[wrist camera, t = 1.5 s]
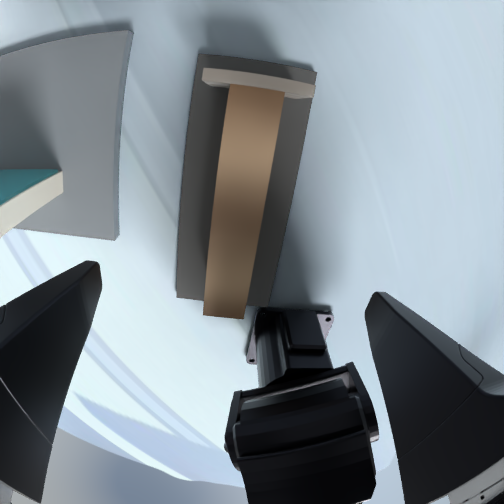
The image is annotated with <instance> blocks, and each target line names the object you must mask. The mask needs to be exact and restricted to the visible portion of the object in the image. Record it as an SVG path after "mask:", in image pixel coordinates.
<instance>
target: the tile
mask: <svg viewBox="0 0 504 504" xmlns="http://www.w3.org/2000/svg"><path fill="white" fill-rule="evenodd" d="M61 193H63V173H62V171H58V169H5V170H0V238H1V237H2V236H3V235H5V234H6V233H7V232H8V231H10V230H11V229H12V228H14V227H15V226H16V225H17V224H19V223H20V222H21V221H23V220H24V219H25V218H27V217H28V216H30V215H31V214H32V213H34V212H35V211H36V210H38V209H39V208H41V207H42V206H44V205H45V204H46V203H48V202H49V201H51V200H52V199H54V198H55V197H57V196H58V195H60V194H61Z"/></svg>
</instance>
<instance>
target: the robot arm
mask: <svg viewBox="0 0 504 504" xmlns="http://www.w3.org/2000/svg"><path fill="white" fill-rule="evenodd" d="M101 291H102V279H101V272H100V265H99V263H98V262H95V261H88V260H87V261H84V262H82V263H80V264H78V265H77V266H75V267H73V268H71V269H69V270H67V271H65V272H63V273H61V274H59V275H57V276H55V277H53V278H52V279H50V280H48V281H46V282H44V283H42V284H40V285H39V286H37V287H35V288H33V289H31V290H30V291H28V292H26V293H24V294H22V295H21V296H19V297H17V298H15V299H14V300H12V301H10V302H8V303H7V304H6V305H3V306H1V307H0V504H12V503H11V498H12V493H13V491H15V492H17V493H19V494H21V495H23V496H25V497H27V498H29V499H31V500H33V501H35V502H37V503H41V500H42V495H43V489H44V483H45V478H46V473H47V468H48V463H49V458H50V454H51V450H52V444H53V440H54V437H55V433H56V429H57V425H58V422H59V418H60V415H61V411H62V408H63V405H64V401H65V398H66V395H67V392H68V389H69V386H70V383H71V380H72V377H73V374H74V371H75V368H76V365H77V363H78V360H79V357H80V354H81V352H82V349H83V346H84V344H85V341H86V339H87V336H88V334H89V331H90V328H91V325H92V321H93V318H94V314H95V311H96V307H97V304H98V301H99V297H100V294H101ZM261 313H265V314H261ZM327 317H329V318H328V319H326V318H327ZM333 321H334V316H333V314H332V313H331V312H324V311H308V310H294V309H281V308H269V307H260V308H258V309H257V311H256V315H255V320H254V324H253V329H252V333H251V338H250V343H249V347H248V352H247V356H246V361H247V363H249V364H257V370H258V382H259V388H256V389H251V390H246V391H242V390H240V391H235V392H234V395H233V400H232V402H231V407H230V412H229V417H228V422H227V427H226V432H225V444H224V448H225V451H226V452H228V453H229V455H230V459H231V461H232V463H233V465H234V467H235V468H236V469H237V470H238V471H241V474H242V477H243V481H244V484H245V489H246V493H247V498H248V503H249V504H362V502H364V501H368V500H370V499H371V497H372V495H373V492H374V489H375V486H376V480H375V475H376V470H375V464H374V458H373V453H372V448H371V442H374V441H377V440H378V439H379V429H378V423H377V419H376V415H375V411H374V407H373V404H372V401H371V399H370V396H369V394H368V392H367V390H366V388H365V386H364V384H363V382H362V379H361V377H360V375H359V373H358V371H357V369H356V367H355V365H354V363H353V362H350V363H347V364H345V365H344V366H341V367H338V368H335V369H334V368H333V365H332V362H331V359H330V356H329V353H328V349H327V344H326V341H325V340H326V337H327V335H328V333H329V330H330V328H331V325H332V323H333ZM365 321H366V326H367V331H368V336H369V341H370V347H371V351H372V356H373V360H374V363H375V367H376V370H377V374H378V377H379V381H380V385H381V389H382V392H383V396H384V400H385V404H386V408H387V413H388V417H389V421H390V425H391V430H392V434H393V439H394V444H395V448H396V453H397V458H398V464H399V470H400V475H401V481H402V487H403V494H404V500H405V504H430V503H432V502H434V501H436V500H439V499H441V498H443V497H445V496H447V495H448V497H449V500H450V504H504V375H503V374H502V373H500V372H499V371H497V370H496V369H494V368H493V367H491V366H490V365H488V364H487V363H485V362H484V361H482V360H481V359H479V358H478V357H477V356H475V355H474V354H472V353H471V352H470V351H468V350H467V349H465V348H464V347H463V346H461V345H460V344H458V343H457V342H456V341H454V340H453V339H452V338H450V337H449V336H447V335H446V334H445V333H443V332H442V331H441V330H439V329H438V328H436V327H435V326H434V325H432V324H431V323H429V322H428V321H426V320H425V319H424V318H422V317H421V316H419V315H418V314H417V313H415V312H414V311H412V310H411V309H409V308H408V307H406V306H405V305H404V304H402V303H401V302H399V301H398V300H396V299H395V298H393V297H392V296H390V295H389V294H388V293H386V292H374V293H373V295H372V297H371V299H370V301H369V303H368V306H367V308H366V310H365Z"/></svg>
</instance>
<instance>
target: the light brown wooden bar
mask: <svg viewBox="0 0 504 504" xmlns="http://www.w3.org/2000/svg"><path fill="white" fill-rule="evenodd" d="M202 81H204V82H205V83H207V84H208V85H209V86H212V87H222V88H229V94H228V101H227V107H226V114H225V120H224V127H223V134H222V141H221V148H220V156H219V163H218V171H217V179H216V187H215V195H214V204H213V212H212V221H211V231H210V240H209V250H208V261H207V271H206V283H205V294H204V307H203V315H206V316H215V317H224V318H234V319H244V314H245V309H246V303H247V298H248V293H249V287H250V282H251V277H252V271H253V266H254V260H255V255H256V249H257V244H258V239H259V233H260V228H261V222H262V217H263V211H264V206H265V200H266V195H267V189H268V184H269V178H270V173H271V167H272V162H273V156H274V151H275V145H276V140H277V134H278V129H279V123H280V118H281V112H282V106H283V101H284V97H288V98H293V99H301V98H313V97H314V92H315V87H316V85H312V84H307V83H303V82H298V81H294V80H289V79H284V78H278V77H273V76H267V75H261V74H254V73H248V72H240V71H232V70H223V69H213V68H204V69H203V75H202Z"/></svg>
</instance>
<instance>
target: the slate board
mask: <svg viewBox="0 0 504 504" xmlns="http://www.w3.org/2000/svg"><path fill="white" fill-rule="evenodd" d="M133 34H134V33H132V32H131V31H129V30H123V31H112V32H103V33H95V34H88V35H82V36H76V37H70V38H65V39H60V40H55V41H51V42H46V43H42V44H38V45H34V46H30V47H27V48H23V49H20V50H16V51H13V52H10V53H7V54H4V55H1V56H0V170H5V169H58V171H62V173H63V193H61V194H60V195H58V196H57V197H55V198H54V199H52V200H51V201H49V202H48V203H46V204H45V205H44V206H42V207H41V208H39V209H38V210H36V211H35V212H34V213H32V214H31V215H30V216H28V217H27V218H25V219H24V220H23V221H21V222H20V223H19V224H17V225H16V226H15V227H14V228H16V229H24V230H32V231H40V232H48V233H56V234H64V235H72V236H80V237H88V238H97V239H105V240H113V241H115V240H116V238H117V237H118V236H119V199H118V188H119V151H120V133H121V120H122V109H123V99H124V91H125V83H126V75H127V68H128V62H129V56H130V50H131V44H132V39H133Z"/></svg>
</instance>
